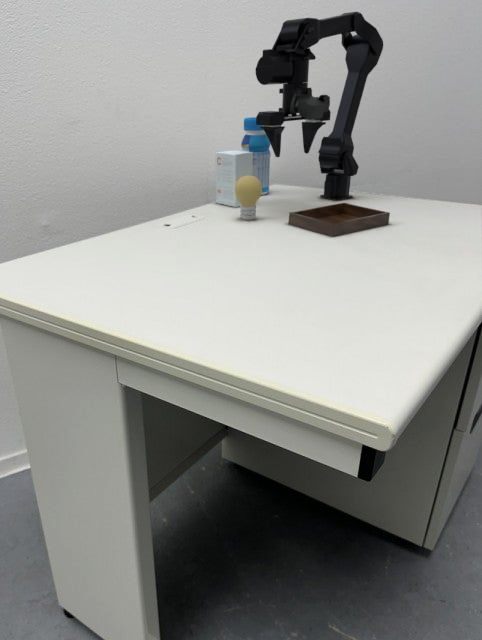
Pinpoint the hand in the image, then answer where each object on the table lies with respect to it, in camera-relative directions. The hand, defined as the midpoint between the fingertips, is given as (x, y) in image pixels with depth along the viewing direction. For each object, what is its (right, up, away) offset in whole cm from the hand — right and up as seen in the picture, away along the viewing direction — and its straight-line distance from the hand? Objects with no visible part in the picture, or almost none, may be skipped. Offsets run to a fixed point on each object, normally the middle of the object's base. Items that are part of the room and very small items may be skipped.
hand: (292, 155), depth 134 cm
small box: (-13, -8, +14) cm, 21 cm away
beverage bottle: (-7, -1, +26) cm, 26 cm away
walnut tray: (+9, -20, -10) cm, 24 cm away
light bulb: (-11, -17, -3) cm, 20 cm away
